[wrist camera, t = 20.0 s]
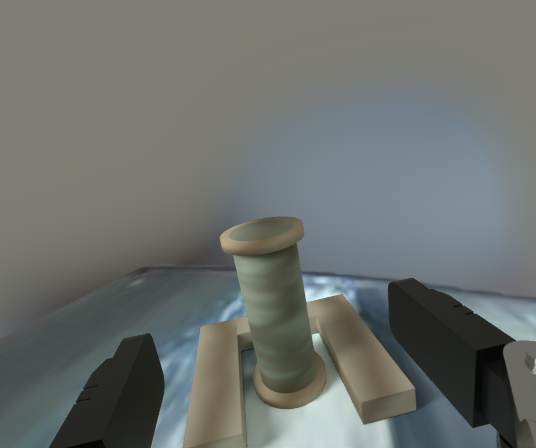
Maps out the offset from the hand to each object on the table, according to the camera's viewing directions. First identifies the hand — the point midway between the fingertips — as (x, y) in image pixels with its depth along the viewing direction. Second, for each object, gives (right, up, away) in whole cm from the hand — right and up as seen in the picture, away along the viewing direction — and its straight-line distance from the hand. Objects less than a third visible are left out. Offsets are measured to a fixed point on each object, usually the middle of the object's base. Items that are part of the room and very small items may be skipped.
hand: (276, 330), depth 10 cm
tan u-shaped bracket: (+2, -10, +18) cm, 20 cm away
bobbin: (+2, -10, +17) cm, 20 cm away
